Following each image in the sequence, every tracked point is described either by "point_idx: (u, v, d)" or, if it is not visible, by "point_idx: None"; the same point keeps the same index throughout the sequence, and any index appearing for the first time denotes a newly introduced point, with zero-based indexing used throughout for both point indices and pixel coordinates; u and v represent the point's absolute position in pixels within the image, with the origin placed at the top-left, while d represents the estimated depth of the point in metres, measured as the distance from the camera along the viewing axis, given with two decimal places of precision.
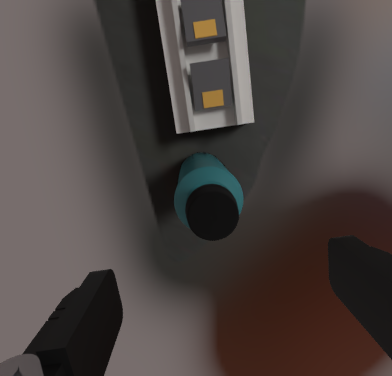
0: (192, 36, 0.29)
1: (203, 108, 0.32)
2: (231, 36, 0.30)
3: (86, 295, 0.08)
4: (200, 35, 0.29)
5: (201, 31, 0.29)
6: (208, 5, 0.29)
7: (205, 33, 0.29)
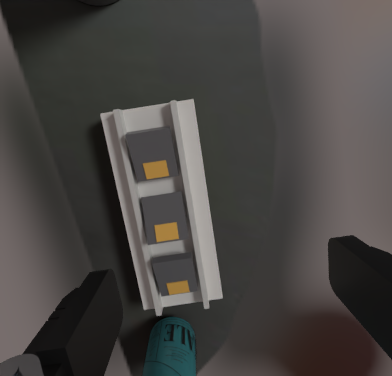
0: (153, 239, 0.28)
1: (169, 294, 0.31)
2: (194, 232, 0.29)
3: (86, 295, 0.08)
4: (161, 239, 0.28)
5: (162, 235, 0.28)
6: (169, 207, 0.28)
7: (166, 237, 0.28)
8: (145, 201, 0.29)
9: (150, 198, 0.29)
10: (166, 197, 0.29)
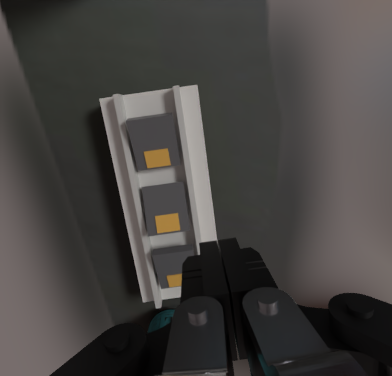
0: (154, 230, 0.27)
1: (169, 286, 0.30)
2: (196, 223, 0.28)
3: (212, 258, 0.09)
4: (162, 230, 0.27)
5: (163, 226, 0.27)
6: (171, 198, 0.28)
7: (167, 228, 0.27)
8: (145, 191, 0.28)
9: (150, 188, 0.28)
10: (167, 187, 0.28)
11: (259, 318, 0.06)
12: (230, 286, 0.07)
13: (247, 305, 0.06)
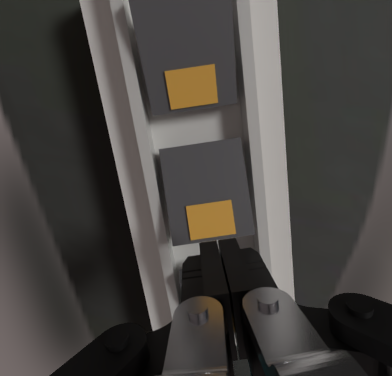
0: (184, 235, 0.14)
1: None
2: (262, 220, 0.15)
3: (212, 258, 0.09)
4: (201, 234, 0.14)
5: (203, 226, 0.14)
6: (217, 170, 0.14)
7: (211, 230, 0.14)
8: (166, 157, 0.14)
9: (176, 151, 0.14)
10: (209, 150, 0.14)
11: (259, 318, 0.06)
12: (230, 286, 0.07)
13: (247, 305, 0.06)
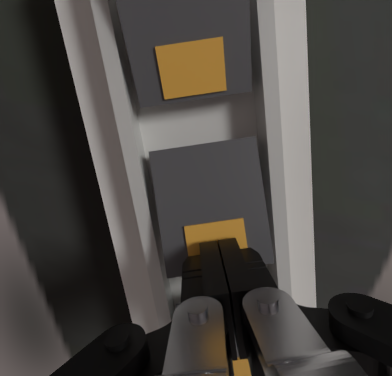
0: None
1: None
2: (281, 243, 0.12)
3: (212, 258, 0.09)
4: None
5: None
6: (225, 179, 0.11)
7: None
8: (158, 162, 0.11)
9: (172, 154, 0.11)
10: (214, 153, 0.11)
11: (259, 318, 0.06)
12: (230, 286, 0.07)
13: (247, 305, 0.06)
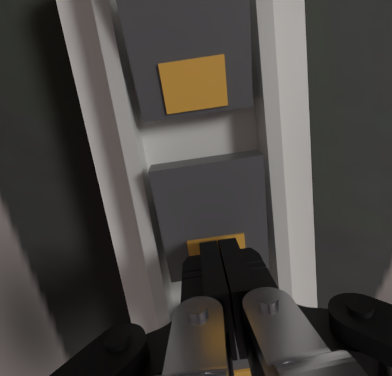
0: None
1: None
2: (283, 255, 0.12)
3: (212, 258, 0.09)
4: None
5: None
6: (228, 199, 0.10)
7: None
8: (159, 182, 0.10)
9: (173, 175, 0.10)
10: (219, 173, 0.10)
11: (259, 318, 0.06)
12: (230, 286, 0.07)
13: (247, 305, 0.06)
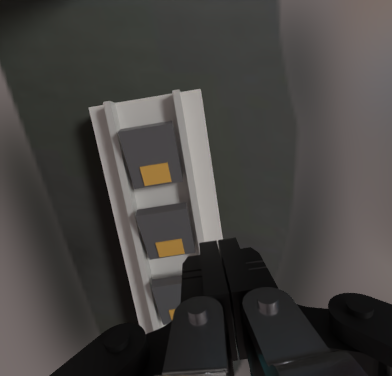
0: (155, 255, 0.25)
1: None
2: None
3: (212, 258, 0.09)
4: (165, 254, 0.25)
5: (166, 251, 0.24)
6: (172, 225, 0.23)
7: (170, 253, 0.25)
8: (141, 220, 0.23)
9: (146, 217, 0.22)
10: (167, 215, 0.23)
11: (259, 318, 0.06)
12: (230, 286, 0.07)
13: (247, 305, 0.06)
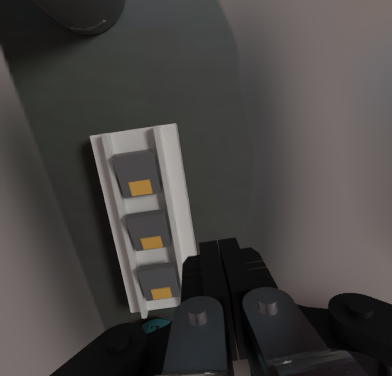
0: (141, 248, 0.32)
1: (153, 299, 0.34)
2: (176, 243, 0.32)
3: (212, 258, 0.09)
4: (148, 247, 0.32)
5: (148, 245, 0.32)
6: (153, 226, 0.31)
7: (152, 246, 0.32)
8: (129, 222, 0.30)
9: (133, 220, 0.30)
10: (149, 219, 0.30)
11: (259, 318, 0.06)
12: (230, 286, 0.07)
13: (247, 305, 0.06)
